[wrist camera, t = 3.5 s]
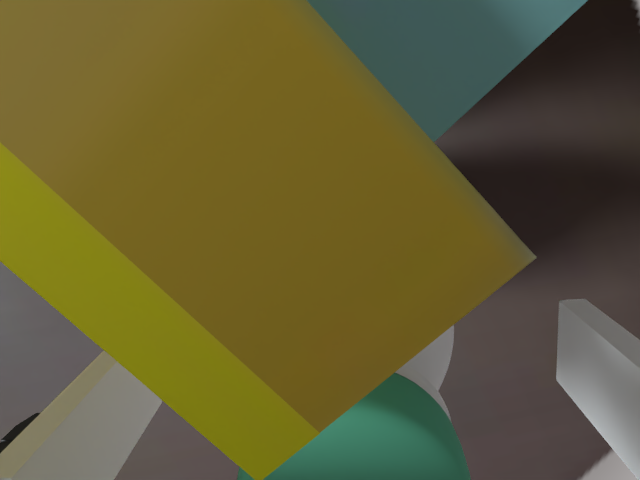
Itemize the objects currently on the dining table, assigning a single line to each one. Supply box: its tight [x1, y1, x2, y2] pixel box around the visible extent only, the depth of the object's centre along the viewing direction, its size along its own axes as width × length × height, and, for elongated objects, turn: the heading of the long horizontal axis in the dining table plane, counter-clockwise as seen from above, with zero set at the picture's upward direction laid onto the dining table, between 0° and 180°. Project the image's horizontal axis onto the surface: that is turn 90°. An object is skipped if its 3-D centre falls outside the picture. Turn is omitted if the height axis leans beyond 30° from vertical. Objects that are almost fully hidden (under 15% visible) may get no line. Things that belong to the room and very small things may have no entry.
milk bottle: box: [237, 325, 471, 480], centre depth 18 cm, size 8×8×20 cm
